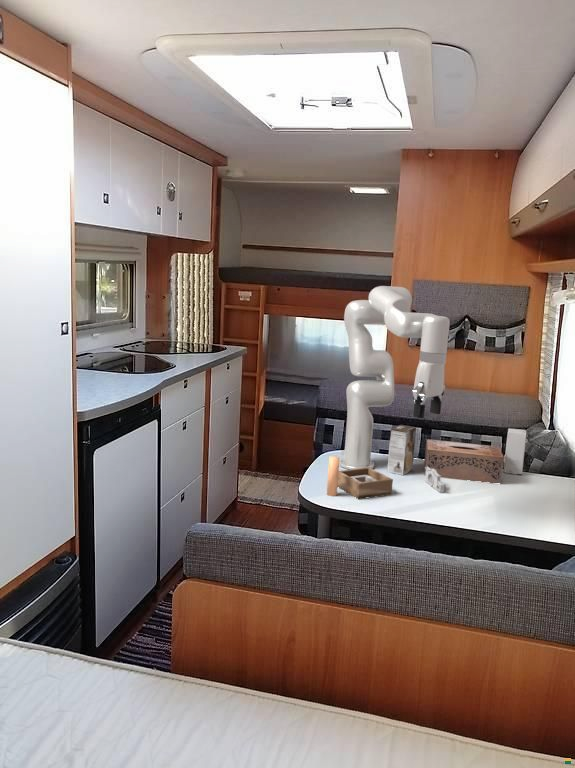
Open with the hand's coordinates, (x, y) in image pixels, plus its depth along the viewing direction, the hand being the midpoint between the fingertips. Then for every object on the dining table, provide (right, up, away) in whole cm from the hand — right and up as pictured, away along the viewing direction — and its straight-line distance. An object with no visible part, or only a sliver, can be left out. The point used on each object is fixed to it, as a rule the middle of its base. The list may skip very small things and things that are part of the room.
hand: (426, 415), depth 182 cm
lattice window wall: (+8, -26, +24) cm, 36 cm away
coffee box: (-1, -22, +39) cm, 45 cm away
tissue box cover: (+22, -24, +40) cm, 51 cm away
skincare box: (+43, -24, +47) cm, 68 cm away
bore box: (-17, -25, +17) cm, 34 cm away
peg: (-27, -25, +11) cm, 39 cm away
